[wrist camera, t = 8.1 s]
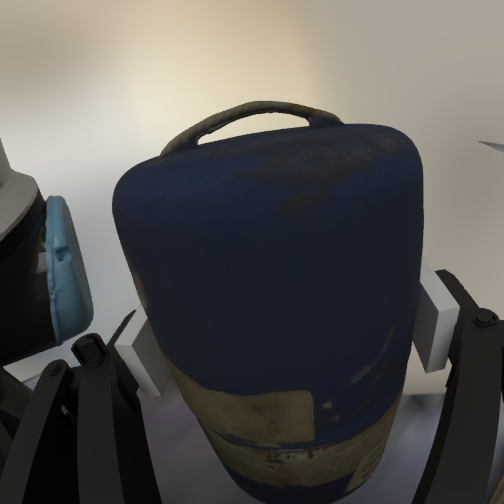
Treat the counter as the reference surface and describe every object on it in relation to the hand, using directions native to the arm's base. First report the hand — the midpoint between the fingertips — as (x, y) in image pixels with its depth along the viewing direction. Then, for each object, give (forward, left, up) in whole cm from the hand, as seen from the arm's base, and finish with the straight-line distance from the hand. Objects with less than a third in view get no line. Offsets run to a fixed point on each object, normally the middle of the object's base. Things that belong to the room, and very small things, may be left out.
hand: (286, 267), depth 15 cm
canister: (+2, -3, -11) cm, 11 cm away
